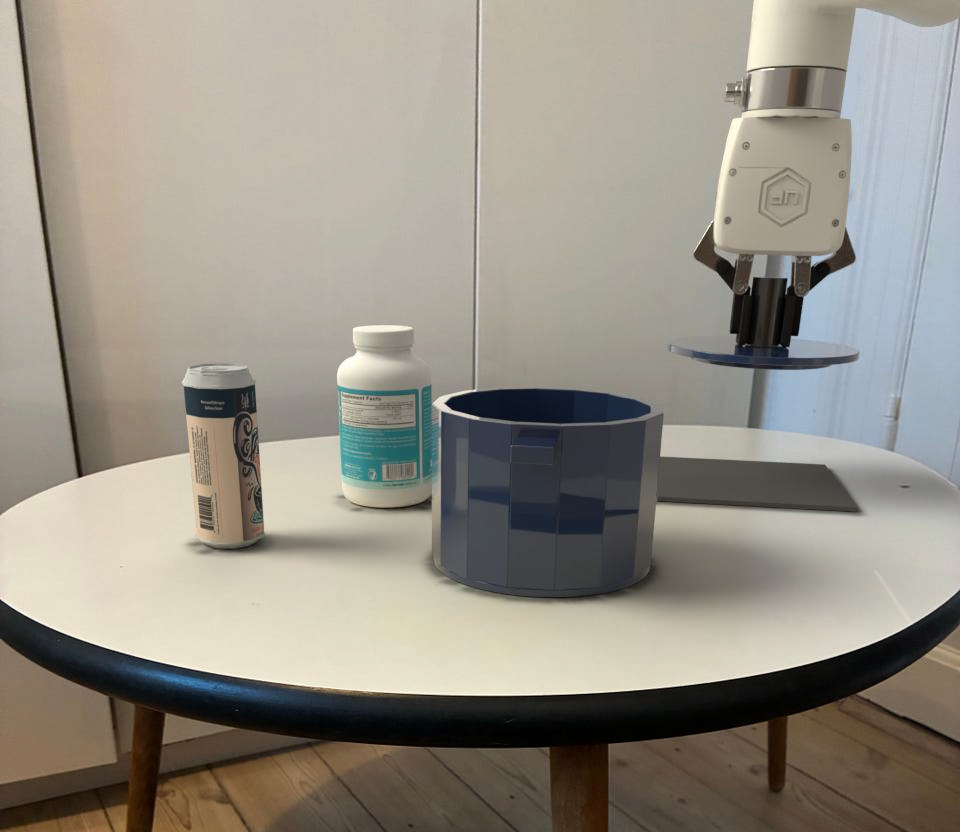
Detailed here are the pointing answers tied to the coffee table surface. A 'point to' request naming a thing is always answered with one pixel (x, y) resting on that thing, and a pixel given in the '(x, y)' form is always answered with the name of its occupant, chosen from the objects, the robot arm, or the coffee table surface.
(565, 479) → the pot
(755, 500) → the trivet
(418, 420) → the pill bottle
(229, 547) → the beer can
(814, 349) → the lid
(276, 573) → the coffee table surface
